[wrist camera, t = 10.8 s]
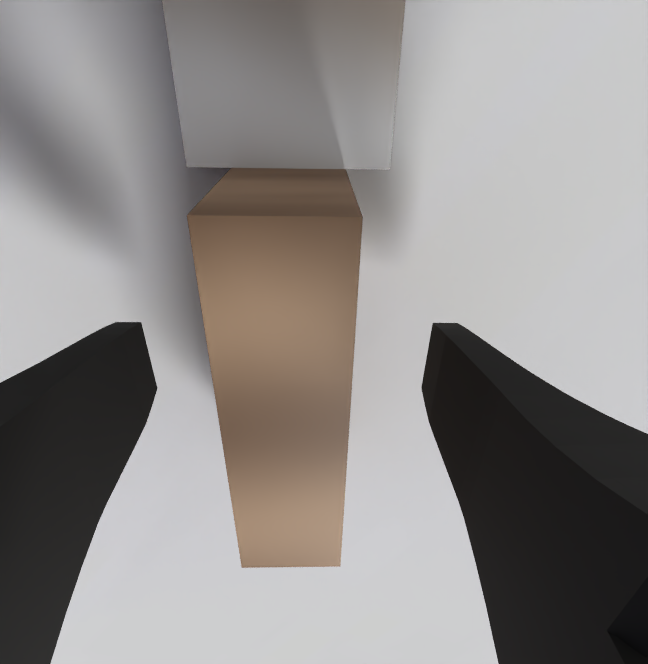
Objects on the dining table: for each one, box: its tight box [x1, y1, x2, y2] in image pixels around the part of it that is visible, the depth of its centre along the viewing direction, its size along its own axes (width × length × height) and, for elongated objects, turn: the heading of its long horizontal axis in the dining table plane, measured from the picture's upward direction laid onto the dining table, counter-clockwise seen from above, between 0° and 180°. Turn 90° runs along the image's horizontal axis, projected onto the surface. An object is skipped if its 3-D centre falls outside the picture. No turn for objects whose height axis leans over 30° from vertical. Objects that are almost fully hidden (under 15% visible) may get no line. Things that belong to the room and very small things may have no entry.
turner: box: [162, 0, 405, 568], centre depth 10 cm, size 17×5×5 cm, turn 179°
